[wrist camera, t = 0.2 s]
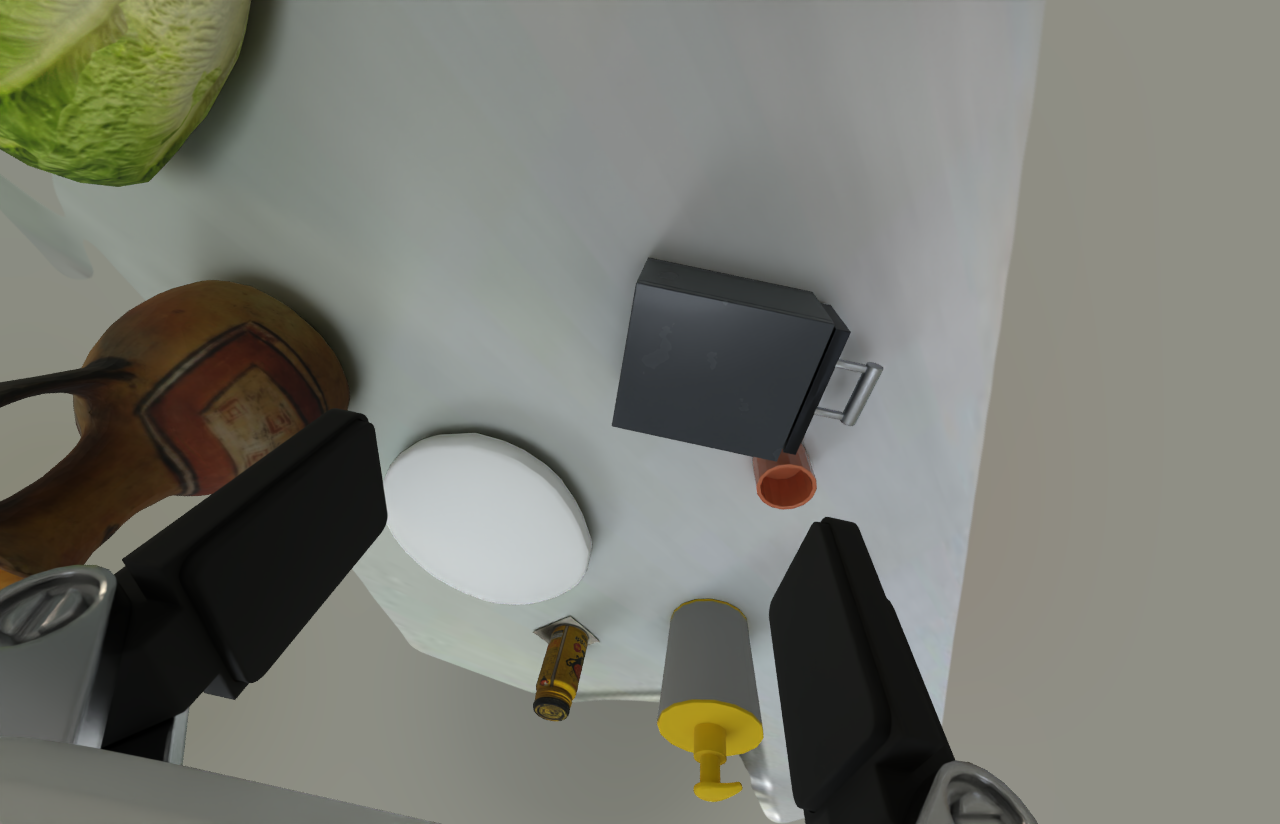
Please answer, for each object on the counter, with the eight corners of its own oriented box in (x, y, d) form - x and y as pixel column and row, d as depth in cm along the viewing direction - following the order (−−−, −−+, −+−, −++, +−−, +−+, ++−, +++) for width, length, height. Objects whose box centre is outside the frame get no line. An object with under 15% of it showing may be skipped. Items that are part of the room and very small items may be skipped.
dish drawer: (883, 316, 42) (912, 345, 36) (830, 426, 48) (847, 466, 43) (675, 272, 42) (671, 294, 36) (650, 388, 49) (643, 422, 43)
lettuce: (211, -162, 34) (361, 58, 41) (6, 34, 38) (172, 201, 45) (-9, -328, 22) (258, 24, 29) (-269, -14, 26) (15, 224, 33)
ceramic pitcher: (259, 432, 60) (-69, 651, 35) (160, 278, 50) (-405, 426, 24) (393, 427, 57) (140, 663, 31) (317, 261, 47) (-148, 410, 21)
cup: (761, 430, 51) (767, 459, 46) (815, 442, 51) (825, 471, 46) (745, 472, 54) (749, 502, 49) (795, 483, 54) (804, 514, 49)
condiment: (600, 640, 75) (583, 720, 64) (562, 653, 78) (541, 731, 68) (570, 615, 72) (548, 693, 62) (533, 630, 76) (506, 707, 65)
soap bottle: (763, 643, 70) (784, 819, 52) (682, 653, 74) (675, 821, 56) (738, 588, 64) (752, 764, 46) (652, 602, 68) (634, 770, 50)
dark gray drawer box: (813, 292, 42) (835, 324, 35) (766, 414, 50) (777, 462, 42) (648, 257, 43) (636, 282, 35) (625, 383, 50) (611, 426, 42)
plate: (335, 515, 59) (448, 401, 48) (371, 486, 65) (479, 378, 54) (494, 647, 65) (627, 573, 54) (513, 609, 71) (637, 536, 60)
